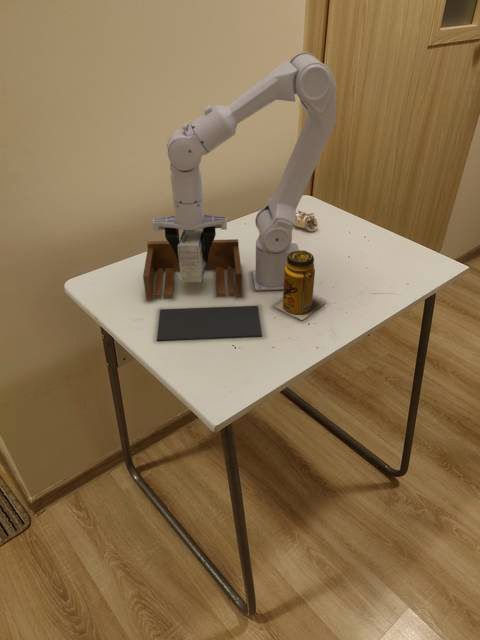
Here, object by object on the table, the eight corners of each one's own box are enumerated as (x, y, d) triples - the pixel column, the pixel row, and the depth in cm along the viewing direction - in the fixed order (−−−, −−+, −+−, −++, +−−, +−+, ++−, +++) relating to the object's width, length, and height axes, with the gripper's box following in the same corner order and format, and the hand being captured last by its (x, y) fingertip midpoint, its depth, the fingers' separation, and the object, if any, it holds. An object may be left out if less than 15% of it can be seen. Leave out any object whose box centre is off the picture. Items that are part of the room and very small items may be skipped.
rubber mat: (257, 307, 104) (257, 305, 104) (262, 336, 96) (262, 335, 96) (160, 310, 102) (160, 309, 102) (157, 341, 94) (156, 339, 94)
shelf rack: (238, 266, 116) (238, 239, 112) (242, 297, 107) (241, 268, 102) (151, 269, 114) (147, 241, 110) (146, 301, 105) (142, 271, 100)
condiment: (274, 307, 104) (276, 256, 96) (298, 291, 109) (302, 241, 101) (301, 321, 101) (306, 269, 93) (326, 303, 106) (332, 253, 98)
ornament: (324, 227, 133) (326, 214, 131) (307, 235, 129) (308, 221, 127) (303, 217, 137) (304, 204, 135) (285, 224, 134) (286, 211, 131)
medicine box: (201, 283, 104) (199, 245, 99) (180, 282, 104) (177, 244, 99) (206, 264, 110) (204, 227, 105) (186, 263, 110) (183, 226, 105)
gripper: (224, 189, 100) (226, 250, 109) (151, 190, 99) (159, 252, 108) (226, 203, 95) (228, 266, 104) (148, 205, 93) (157, 268, 102)
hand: (193, 260), depth 105 cm, fingers closed on medicine box, 5 cm apart
